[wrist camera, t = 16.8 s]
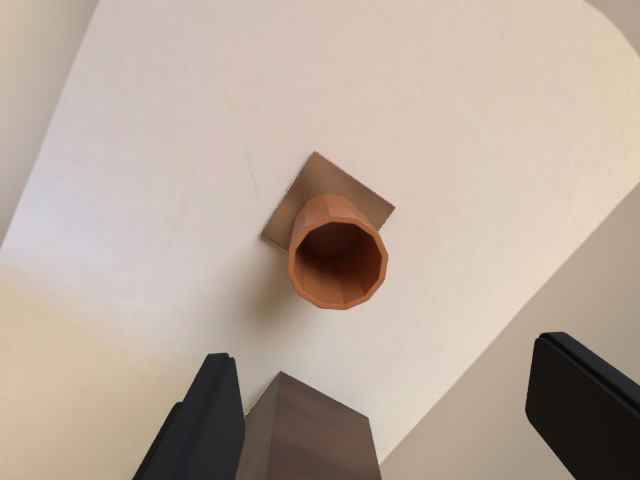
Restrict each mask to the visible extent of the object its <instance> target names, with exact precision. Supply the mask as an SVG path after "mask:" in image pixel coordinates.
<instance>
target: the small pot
mask: <svg viewBox="0 0 640 480" xmlns="http://www.w3.org/2000/svg"><path fill="white" fill-rule="evenodd" d="M387 262H388V254H387V251H386V249H385V247H384V244H383V242H382V239H381V237H380V235H379V233H378V232H377V231H376V229H375V228H374V227H373V226H372V224H371V223H370V222H369V221H368V220H367V218H366V217H365V216H364V215H363V214H362V212H361V211H360V210H359V209H358V208H357V206H356V205H354V204H353V203H352V202H350V201H349V200H348V199H346V198H345V197H343V196H341V195H336V194H322V195H318V196H316V197H314V198H312V199H310V200H309V201H307V202H306V203H305V204H304V205H303V206H302V208H301V209H300V211H299V213H298V214H297V215H296V218H295V223H294V227H293V232H292V237H291V242H290V247H289V257H288V271H287V273H288V276H289V277H290V279H291V281H292V283H293V285H294V287H295V289H296V291H297V293H298V294H299V296H301V297H303V298H304V299H306V300H307V301H309V302H311V303H312V304H314V305H315V306H317V307H319V308H321V309H336V310H347V309H349V308H351V307H354V306H356V305H359V304H361V303H363V302H366V301H368V300H369V299H370V298H371V297H372V295H373V294H374V293H375V292H376V291H377V289H378V288H379V287H380V286H381V284H382V283H383V282H384V280H385V275H386V268H387Z"/></svg>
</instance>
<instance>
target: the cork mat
mask: <svg viewBox="0 0 640 480" xmlns="http://www.w3.org/2000/svg"><path fill="white" fill-rule="evenodd" d="M322 194H336V195H341V196H343V197H345V198H346V199H348V200H349V201H350V202H352V203H353V204H354V205H356V206H357V208H358V209H359V210H360V211H361V212H362V214H363V215H364V216H365V217H366V218H367V220H368V221H369V222H370V223H371V224H372V226H373V227H374V228H375V229H376V231H377V232H378V231H379V229H380V228H381V227H382V225H383V224H384V223H385V221H386V220H387V218H388V217H389V216H390V214H391V213H392V212H393V210H394V209H395V206H393V205H392V204H390V203H389V202H388V201H386V200H385V199H383V198H382V197H380V196H379V195H378V194H376V193H375V192H373V191H372V190H370V189H369V188H368V187H366V186H365V185H363V184H362V183H360V182H359V181H358V180H356V179H355V178H353V177H352V176H350V175H349V174H348V173H346V172H345V171H343V170H342V169H340V168H339V167H338V166H336V165H335V164H333V163H332V162H330V161H329V160H328V159H326V158H325V157H323V156H322V155H320V154H319V153H318V152H316V151H314V152H313V154H312V155H311V157H310V159H309V160H308V162H307V163H306V165H305V166H304V168H303V169H302V171H301V172H300V174H299V176H298V177H297V179H296V180H295V182H294V183H293V185H292V186H291V188H290V190H289V191H288V193H287V194H286V196H285V197H284V199H283V200H282V202H281V204H280V205H279V207H278V208H277V210H276V211H275V213H274V214H273V216H272V217H271V219H270V221H269V222H268V224H267V225H266V227H265V228H264V230H263V231H262V235H264V236H266V237H267V238H269V239H270V240H272V241H274V242H275V243H277V244H279V245H280V246H282V247H283V248H285V249H287V250H288V251H289V247H290V242H291V237H292V232H293V227H294V223H295V218H296V215H297V214H298V213H299V211H300V209H301V208H302V206H303V205H304V204H305V203H306V202H307V201H309V200H310V199H312V198H314V197H316V196H318V195H322Z"/></svg>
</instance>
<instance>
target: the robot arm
mask: <svg viewBox="0 0 640 480" xmlns="http://www.w3.org/2000/svg"><path fill="white" fill-rule="evenodd" d="M525 411H526V415H527V418H528V420H529V422H530V423H531V424H532V426H533V427H534V428H535V429H536V430H537V432H538V433H539V434H540V436H541V437H542V438H543V439H544V441H545V442H546V443H547V444H548V446H549V447H550V448H551V449H552V450H553V452H554V453H555V454H556V456H557V457H558V458H559V459H560V461H561V462H562V463H563V464H564V466H565V467H566V468H567V469H568V471H569V472H570V473H571V474H572V476H573V477H574V478H575V479H576V480H640V386H639V385H638V384H637V383H635V382H634V381H633V380H631V379H630V378H628V377H627V376H625V375H624V374H623V373H621V372H620V371H619V370H617V369H616V368H614V367H613V366H611V365H610V364H609V363H607V362H606V361H604V360H603V359H602V358H600V357H599V356H598V355H596V354H595V353H593V352H592V351H591V350H589V349H588V348H586V347H585V346H584V345H582V344H581V343H579V342H578V341H577V340H575V339H574V338H572V337H571V336H569V335H568V334H567V333H565V332H548V333H542V334H541V335H540V336H539V338H537V339H536V340H535V343H534V350H533V357H532V364H531V371H530V378H529V385H528V392H527V400H526V406H525ZM244 440H245V421H244V415H243V408H242V402H241V395H240V389H239V382H238V376H237V370H236V363H235V359H234V358H233V357H230V358H229V355H228V353H216V354H208V355H207V357H206V358H205V360H204V362H203V364H202V366H201V368H200V370H199V372H198V373H197V375H196V377H195V379H194V381H193V383H192V385H191V387H190V389H189V390H188V392H187V394H186V396H185V398H184V400H183V402H178V403H176V404H175V405H174V406H173V408H172V409H171V411H170V413H169V415H168V416H167V418H166V420H165V422H164V424H163V425H162V427H161V429H160V431H159V433H158V434H157V436H156V438H155V440H154V441H153V443H152V445H151V447H150V449H149V450H148V452H147V454H146V456H145V458H144V459H143V461H142V463H141V465H140V467H139V468H138V470H137V472H136V474H135V476H134V477H133V479H132V480H235V477H236V473H237V469H238V465H239V461H240V457H241V453H242V449H243V445H244Z"/></svg>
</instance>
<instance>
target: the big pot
mask: <svg viewBox="0 0 640 480" xmlns="http://www.w3.org/2000/svg"><path fill="white" fill-rule="evenodd" d="M244 421H245V440H244V445H243V449H242V453H241V457H240V461H239V465H238V469H237V473H236V477H235V480H382V479H381V474H380V470H379V465H378V460H377V456H376V451H375V447H374V442H373V437H372V433H371V428H370V424H369V419H368V417H366V416H364V415H362V414H360V413H358V412H356V411H355V410H353V409H351V408H349V407H347V406H345V405H343V404H341V403H340V402H338V401H336V400H334V399H332V398H330V397H328V396H326V395H325V394H323V393H321V392H319V391H317V390H315V389H313V388H312V387H310V386H308V385H306V384H304V383H302V382H300V381H298V380H297V379H295V378H293V377H291V376H289V375H287V374H285V373H283V372H282V371H280V373H279V374H278V375H277V377H276V378H275V379H274V381H273V382H272V383H271V385H270V386H269V387H268V389H267V390H266V391H265V393H264V394H263V395H262V397H261V398H260V399H259V401H258V402H257V403H256V405H255V406H254V407H253V409H252V410H251V411H250V413H249V414H248V415H247V417H246V418H245V419H244Z"/></svg>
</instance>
